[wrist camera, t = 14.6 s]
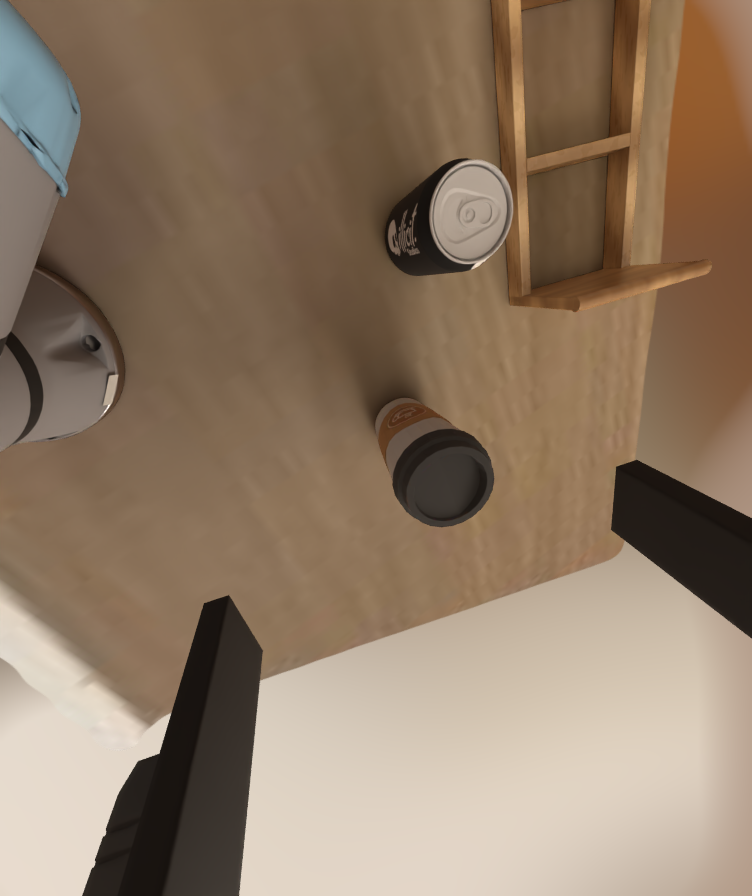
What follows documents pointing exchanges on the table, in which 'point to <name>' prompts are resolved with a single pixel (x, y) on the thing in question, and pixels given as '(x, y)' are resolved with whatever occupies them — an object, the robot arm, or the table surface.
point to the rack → (619, 147)
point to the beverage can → (451, 219)
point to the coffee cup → (433, 464)
